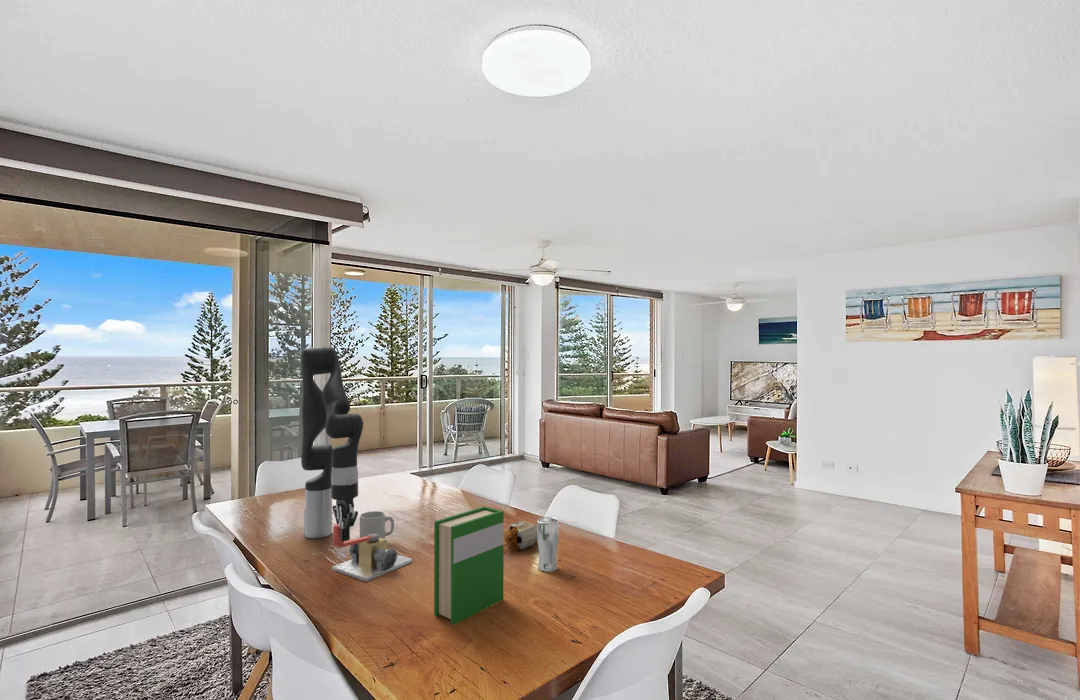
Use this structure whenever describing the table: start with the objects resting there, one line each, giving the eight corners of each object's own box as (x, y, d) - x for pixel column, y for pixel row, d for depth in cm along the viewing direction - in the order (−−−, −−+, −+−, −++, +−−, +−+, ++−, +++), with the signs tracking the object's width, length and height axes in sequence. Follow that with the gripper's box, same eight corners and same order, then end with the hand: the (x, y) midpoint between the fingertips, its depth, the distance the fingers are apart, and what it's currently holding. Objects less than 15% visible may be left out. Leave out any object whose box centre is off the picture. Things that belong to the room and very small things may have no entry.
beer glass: (561, 565, 166) (561, 518, 166) (555, 574, 159) (554, 524, 159) (540, 562, 168) (540, 515, 168) (533, 571, 161) (533, 522, 161)
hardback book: (453, 625, 128) (453, 527, 129) (434, 615, 133) (434, 521, 134) (503, 600, 142) (503, 511, 142) (484, 592, 147) (484, 506, 147)
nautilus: (510, 563, 169) (478, 554, 179) (551, 541, 186) (520, 534, 195) (508, 538, 169) (476, 531, 179) (549, 518, 186) (518, 513, 195)
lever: (375, 536, 168) (376, 515, 168) (381, 539, 165) (381, 518, 166) (331, 547, 158) (331, 525, 158) (335, 550, 156) (336, 528, 156)
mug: (364, 552, 177) (364, 519, 177) (356, 545, 184) (356, 513, 184) (398, 544, 184) (398, 513, 184) (389, 538, 191) (389, 508, 191)
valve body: (332, 569, 162) (332, 543, 162) (379, 551, 177) (379, 528, 177) (365, 581, 153) (365, 554, 154) (412, 562, 168) (412, 537, 169)
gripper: (323, 480, 158) (323, 538, 157) (341, 486, 149) (342, 548, 148) (347, 476, 163) (347, 532, 163) (366, 482, 154) (367, 542, 153)
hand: (345, 540), depth 155 cm, fingers closed
